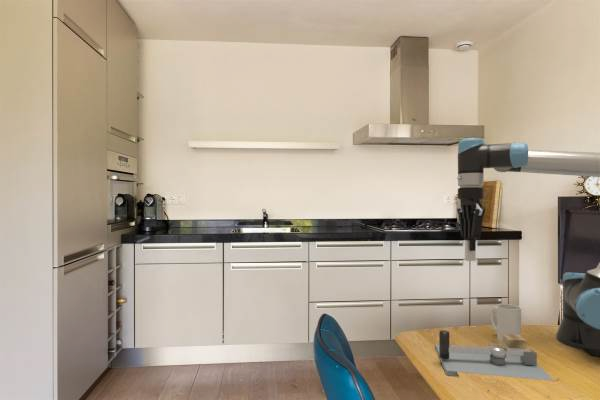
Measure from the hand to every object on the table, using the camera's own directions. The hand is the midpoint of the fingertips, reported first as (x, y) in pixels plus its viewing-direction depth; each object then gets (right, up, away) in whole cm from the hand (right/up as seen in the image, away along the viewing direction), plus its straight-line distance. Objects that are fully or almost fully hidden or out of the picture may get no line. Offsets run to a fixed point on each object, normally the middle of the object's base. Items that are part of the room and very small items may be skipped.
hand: (470, 260), depth 117 cm
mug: (+11, -27, 0) cm, 29 cm away
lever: (-4, -25, -17) cm, 30 cm away
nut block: (+8, -25, -11) cm, 28 cm away
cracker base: (-2, -26, -16) cm, 31 cm away
